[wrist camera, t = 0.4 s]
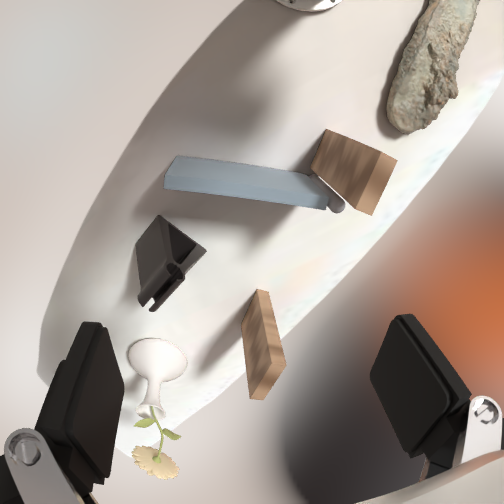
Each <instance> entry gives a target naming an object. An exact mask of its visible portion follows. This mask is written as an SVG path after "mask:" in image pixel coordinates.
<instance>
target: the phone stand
mask: <svg viewBox="0 0 504 504" xmlns="http://www.w3.org/2000/svg"><path fill="white" fill-rule="evenodd" d="M206 252H207V251H206V249H205V248H203V247H202V246H200V245H199V244H198V243H196V242H195V241H194V240H192V239H191V238H190V237H188V236H187V235H186V234H184V233H182V231H180V230H179V229H178V228H176V227H175V226H174V225H172V224H171V223H170V222H168V221H167V220H166V219H164V218H163V217H162V216H160V215H158V216H157V217H156V219H155V220H154V221H153V222H152V224H151V225H150V226H149V227H148V229H147V230H146V231H145V233H144V234H143V235H142V236H141V238H140V239H139V240H138V242H137V243H136V253H137V261H138V270H139V277H140V285H141V291H140V293H139V295H138V301H139V303H140V304H141V306H142V307H144V306H145V304H146V303H147V302H148V301H149V300H150V299H151V297H152V298H153V299H154V300H155V303H154V304H153V305H152V307H151V308H150V309H149V311H150V312H155V311H156V310H157V309H158V308H159V307H160V306H161V305H162V304H163V303H164V302H165V301H166V299H167V298H168V297H169V296H170V295H171V294H172V293H173V292H174V291H175V290H176V289H177V288H178V286H179V285H180V284H181V283H182V282H183V281H184V280H185V274H186V273H187V272H188V271H189V270H190V269H191V268H192V267H193V266H194V264H195V263H196V262H197V261H198V260H199V259H200V258H201V257H202V256H203V255H204V254H205V253H206Z"/></svg>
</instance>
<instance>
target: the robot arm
mask: <svg viewBox="0 0 504 504" xmlns="http://www.w3.org/2000/svg"><path fill="white" fill-rule="evenodd" d="M276 1H278V2H279V3H281V4H283V5H285V6H287V7H289V8H292V9H296V10H300V11H307V12H317V11H322V10H327V9H329V8H332V7H334V6H335V5H337V4H338V3H340V2H341V1H342V0H276ZM289 1H291V2H292V3H293V4H291V3H290V2H289ZM330 1H332V3H331V2H330ZM370 380H371V383H372V385H373V387H374V389H375V391H376V393H377V395H378V397H379V399H380V401H381V403H382V405H383V407H384V409H385V412H386V414H387V415H388V418H389V420H390V422H391V424H392V426H393V428H394V430H395V433H396V435H397V437H398V439H399V441H400V444H401V445H402V448H403V450H404V451H405V452H408V454H409V456H410V458H413V457H416V456H419V455H421V454H423V453H425V455H426V460H425V464H424V468H423V470H422V474H421V477H420V480H419V483H416V484H414V485H411V486H408V487H406V488H403V489H400V490H398V491H395V492H392V493H389V494H386V495H383V496H380V497H377V498H373V499H370V500H367V501H363V502H360V503H356V504H504V418H502V411H501V409H500V407H499V405H498V404H497V403H496V402H495V401H494V400H493V399H492V398H489V397H487V396H477V397H475V398H474V399H473V400H472V401H470V400H469V398H470V396H471V395H472V394H471V392H470V391H469V389H468V388H467V387H466V385H465V384H464V382H463V381H462V379H461V378H460V377H459V375H458V374H457V372H456V371H455V369H454V368H453V367H452V365H451V364H450V362H449V361H448V360H447V358H446V357H445V356H444V354H443V353H442V351H441V350H440V349H439V347H438V346H437V345H436V344H435V342H434V341H433V339H432V338H431V337H430V336H429V334H428V333H427V332H426V330H425V329H424V328H423V326H422V325H421V324H420V322H419V321H418V320H417V319H416V317H415V316H414V315H413V314H403V315H397V316H396V317H395V318H394V320H392V321H391V323H390V325H389V328H388V331H387V333H386V336H385V338H384V341H383V343H382V346H381V348H380V351H379V353H378V356H377V358H376V360H375V363H374V365H373V367H372V369H371V372H370ZM123 396H124V382H123V379H122V376H121V373H120V370H119V367H118V363H117V360H116V357H115V354H114V350H113V347H112V343H111V340H110V336H109V333H108V329H107V328H106V327H103V326H102V324H101V323H99V322H85V321H84V322H83V323H82V324H81V326H80V328H79V330H78V333H77V335H76V337H75V339H74V342H73V344H72V346H71V348H70V351H69V353H68V355H67V358H66V360H62V361H61V362H60V364H59V366H58V368H57V370H56V373H55V375H54V378H53V380H52V383H51V385H50V388H49V390H48V393H47V395H46V398H45V401H44V403H43V406H42V409H41V412H40V414H39V417H38V420H37V423H36V426H35V429H34V430H33V429H30V428H22V429H18V430H16V431H14V432H13V433H11V434H10V436H9V437H8V438H7V440H6V442H5V446H4V455H2V456H0V504H98V502H97V501H96V499H95V498H94V497H93V495H92V494H91V492H92V489H93V483H96V484H102V485H104V480H105V478H108V477H109V476H110V472H111V465H112V458H113V451H114V445H115V439H116V433H117V428H118V422H119V416H120V411H121V406H122V401H123Z"/></svg>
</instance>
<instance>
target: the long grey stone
mask: <svg viewBox="0 0 504 504" xmlns="http://www.w3.org/2000/svg"><path fill="white" fill-rule="evenodd" d="M479 1H480V0H429V6H428V8H427V9H426V11H425V12H424V14H423V15H422V16H421V17H420V18H419V20H418V25H417V27H416V28H415V29H416V30H415V31H414V32H415V33H414V35H413V36H412V38H411V40H410V42H409V43H408V44H407V46H406V48H404V52H403V55H402V60H401V62H400V64H399V68H398V72H397V75H396V76H395V77H394V79H393V82H392V87H391V88H390V93H389V96H388V103H387V109H386V111H387V118H388V120H389V122H390V123H391V124H392V125H393V126H394V127H395V128H396V129H398V130H399V131H400V132H401V133H406V134H411V133H412V132H414V131H416V130H419V129H425V128H426V127H427V126H428V125H430V124H431V122H432V120H436V119H437V117H438V114H439V113H440V110H441V109H442V108H443V107H444V105H445V104H446V103H447V102H448V99H449V98H450V99H452V98H453V99H456V97H457V95H458V88H457V82H456V75H455V73H456V71H457V70H458V68H459V64H458V59H459V58H460V54H461V52H462V50H463V49H464V45H465V44H466V42H467V41H468V39H469V38H468V36H469V34H470V32H471V31H472V26H473V24H474V20H475V18H476V15H477V13H476V8H477V5H478V4H479Z"/></svg>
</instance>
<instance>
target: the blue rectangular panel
mask: <svg viewBox="0 0 504 504" xmlns="http://www.w3.org/2000/svg"><path fill="white" fill-rule="evenodd" d="M164 189H170V190H180V191H189V192H198V193H207V194H215V195H223V196H231V197H239V198H247V199H254V200H261V201H268V202H275V203H282V204H289V205H296V206H302V207H308V208H315V209H321V210H326V206H328V207H329V209H330V210H331V211H332V212H334V213H340V212H342V211H343V210H344V208H345V202H344V200H343V199H342V198H340V197H339V196H338V195H337V194H336V193H335V192H334V191H333V190H332V189H331V188H330V187H329V186H328V185H327V184H325V183H324V182H323V181H322V180H321V179H320V178H319V177H318V176H317V175H310V176H309V177H308V176H307V175H306V174H302V173H297V172H291V171H285V170H280V169H274V168H267V167H261V166H254V165H248V164H241V163H234V162H226V161H219V160H211V159H202V158H194V157H184V156H176V158H175V159H174V161H173V163H172V164H171V166H170V167H169V169H168V171H167V172H166V174H165V179H164Z"/></svg>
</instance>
